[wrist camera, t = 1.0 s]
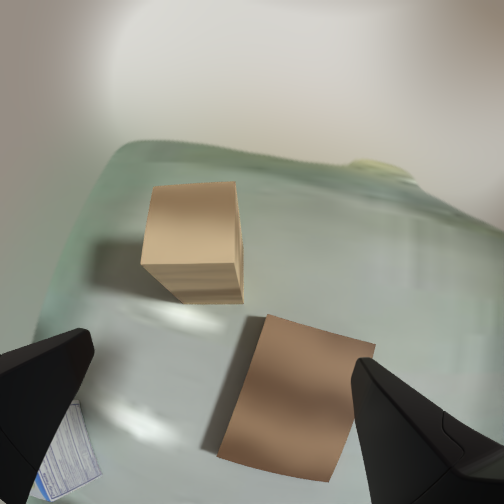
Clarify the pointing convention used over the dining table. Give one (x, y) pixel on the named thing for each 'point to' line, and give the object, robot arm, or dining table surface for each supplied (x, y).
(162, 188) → the oak pillar
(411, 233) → the dining table surface
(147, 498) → the dining table surface
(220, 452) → the walnut slab
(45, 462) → the medicine box
